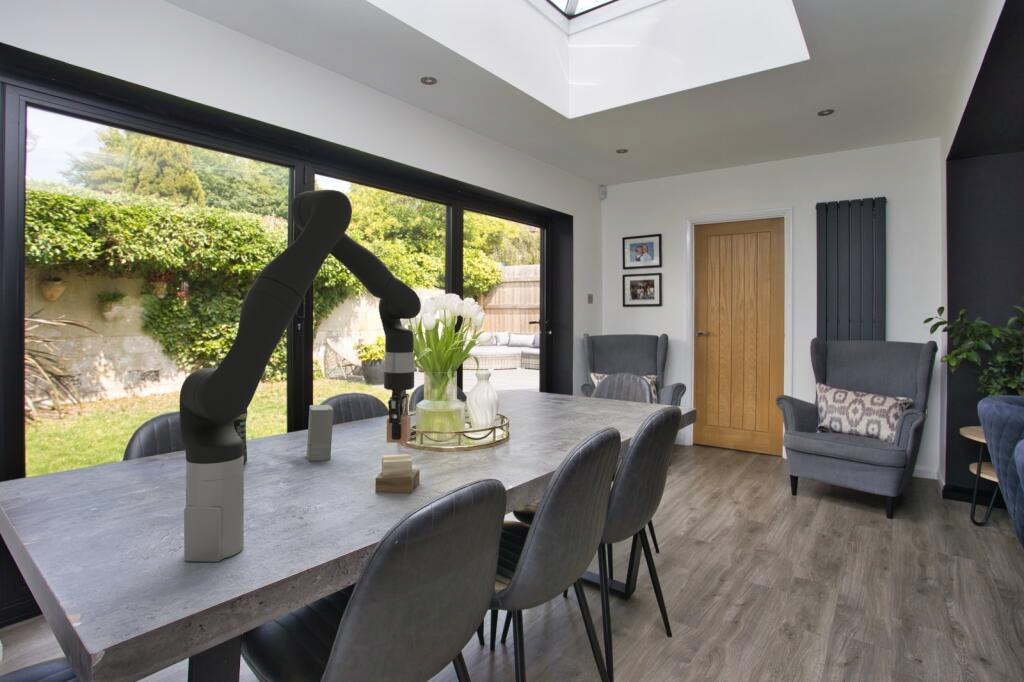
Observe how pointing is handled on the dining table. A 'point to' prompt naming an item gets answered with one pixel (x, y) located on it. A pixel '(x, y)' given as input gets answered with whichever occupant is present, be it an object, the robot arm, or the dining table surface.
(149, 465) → the dining table surface
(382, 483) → the tower base
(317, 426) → the skincare box
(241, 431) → the coffee jar
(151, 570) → the dining table surface
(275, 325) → the robot arm
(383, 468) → the tower middle
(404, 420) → the peach cube on top
